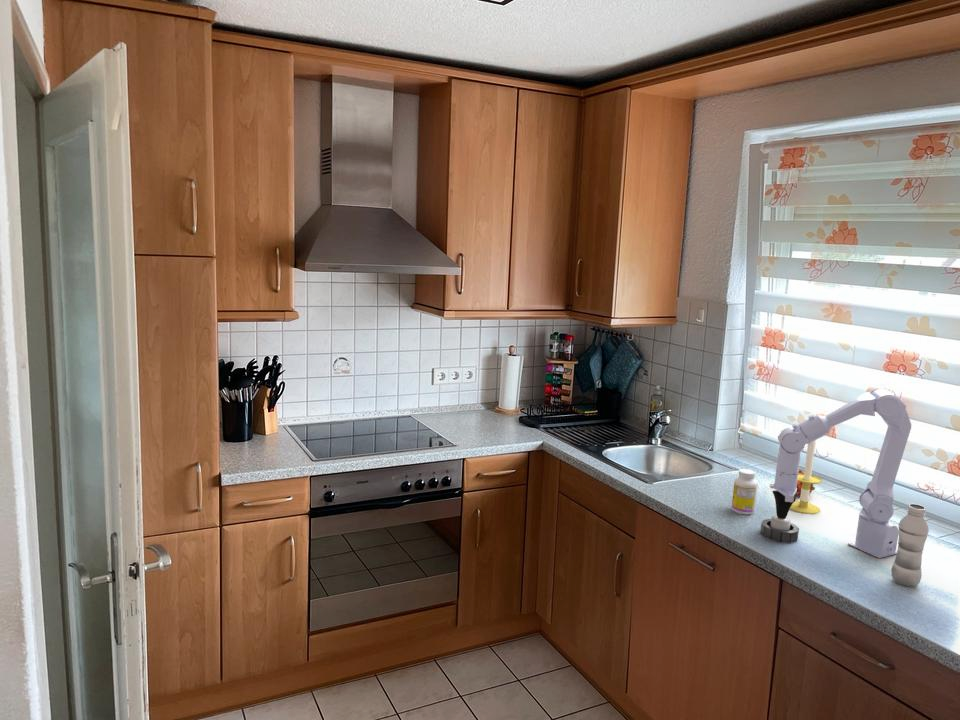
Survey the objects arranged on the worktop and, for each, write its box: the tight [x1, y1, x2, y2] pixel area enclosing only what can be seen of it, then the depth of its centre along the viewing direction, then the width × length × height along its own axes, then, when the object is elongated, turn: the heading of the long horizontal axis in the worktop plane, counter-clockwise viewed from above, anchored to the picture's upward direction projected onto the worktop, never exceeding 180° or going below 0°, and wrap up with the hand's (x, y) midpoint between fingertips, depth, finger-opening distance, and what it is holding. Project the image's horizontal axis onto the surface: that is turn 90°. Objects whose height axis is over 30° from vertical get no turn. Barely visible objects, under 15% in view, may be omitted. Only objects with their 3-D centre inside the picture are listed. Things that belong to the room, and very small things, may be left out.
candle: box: [789, 440, 823, 515], centre depth 223 cm, size 10×10×27 cm
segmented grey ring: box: [759, 518, 800, 544], centre depth 203 cm, size 10×10×3 cm
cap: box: [770, 515, 791, 531], centre depth 202 cm, size 5×5×5 cm
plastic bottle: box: [891, 503, 930, 587], centre depth 176 cm, size 6×7×20 cm
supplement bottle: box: [731, 468, 758, 516], centre depth 219 cm, size 7×7×13 cm
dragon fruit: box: [795, 470, 816, 497], centre depth 237 cm, size 8×8×12 cm
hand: (781, 517), depth 202 cm, fingers closed
